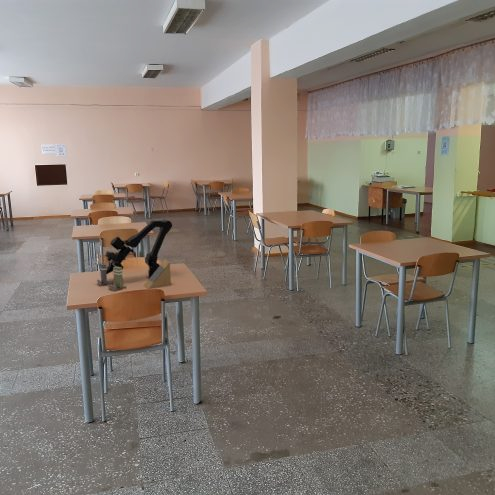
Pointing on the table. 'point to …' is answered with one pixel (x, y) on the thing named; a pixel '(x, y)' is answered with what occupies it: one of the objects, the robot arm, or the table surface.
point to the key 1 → (103, 273)
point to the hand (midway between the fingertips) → (105, 273)
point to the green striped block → (118, 276)
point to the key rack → (110, 285)
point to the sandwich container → (160, 276)
